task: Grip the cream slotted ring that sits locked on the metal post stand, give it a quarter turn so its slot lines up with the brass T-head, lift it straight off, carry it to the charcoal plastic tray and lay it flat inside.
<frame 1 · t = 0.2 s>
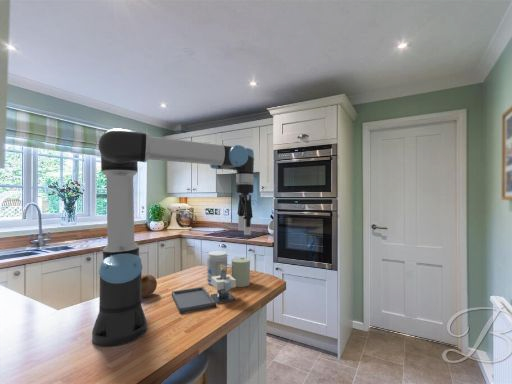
hand: (244, 232, 116), 27 cm above the counter, fingers open, 13 cm apart
metal post stand: (223, 298, 110), on the counter
onion: (145, 296, 112), on the counter
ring: (223, 285, 110), point 5 cm above the counter, touching metal post stand
supplement tub: (217, 283, 130), on the counter
tray: (192, 300, 107), on the counter
can: (240, 283, 129), on the counter
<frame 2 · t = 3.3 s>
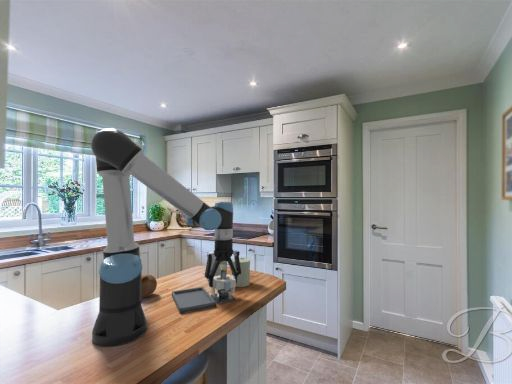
hand: (223, 292, 110), 2 cm above the counter, fingers closed on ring, 8 cm apart
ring: (223, 285, 110), point 5 cm above the counter, touching gripper, metal post stand
everything else where it was.
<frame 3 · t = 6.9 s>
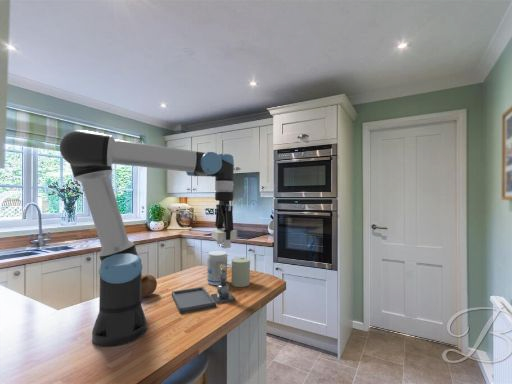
hand: (223, 245, 110), 22 cm above the counter, fingers closed on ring, 8 cm apart
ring: (223, 238, 110), point 25 cm above the counter, touching gripper
everything else where it was.
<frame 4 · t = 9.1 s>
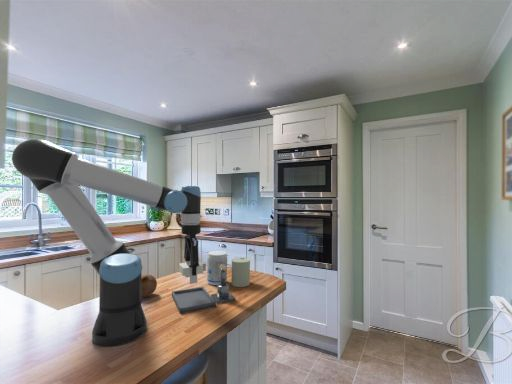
hand: (191, 279, 107), 9 cm above the counter, fingers closed on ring, 8 cm apart
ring: (191, 271, 107), point 12 cm above the counter, touching gripper
everything else where it was.
when the fingers open (2 cm above the counter, at t = 11.0 s): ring drops 4 cm, resting on tray.
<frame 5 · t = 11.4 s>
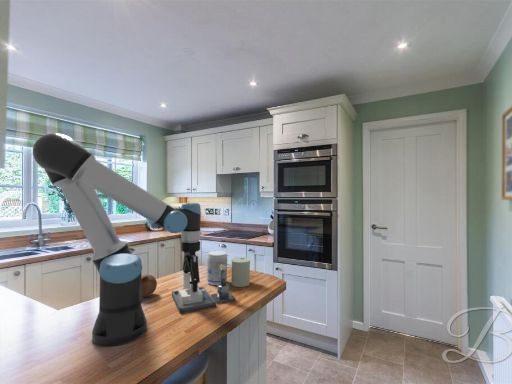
hand: (190, 293, 107), 3 cm above the counter, fingers open, 12 cm apart
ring: (190, 299, 107), point 1 cm above the counter, touching tray
everything else where it was.
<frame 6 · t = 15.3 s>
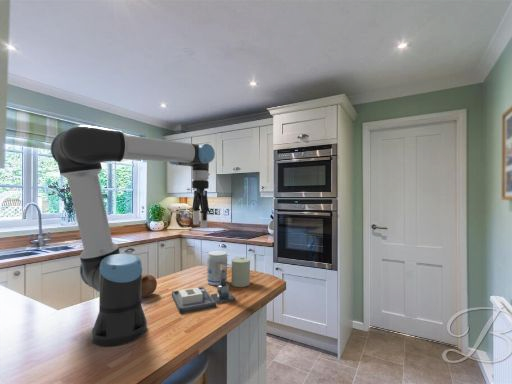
hand: (199, 226, 122), 29 cm above the counter, fingers open, 13 cm apart
nothing on the counter moved.
at the end: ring inside the target area on the tray (1.0 cm from its centre), point 0.8 cm above the tray's base; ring tilted 0°; the gripper is holding nothing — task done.
